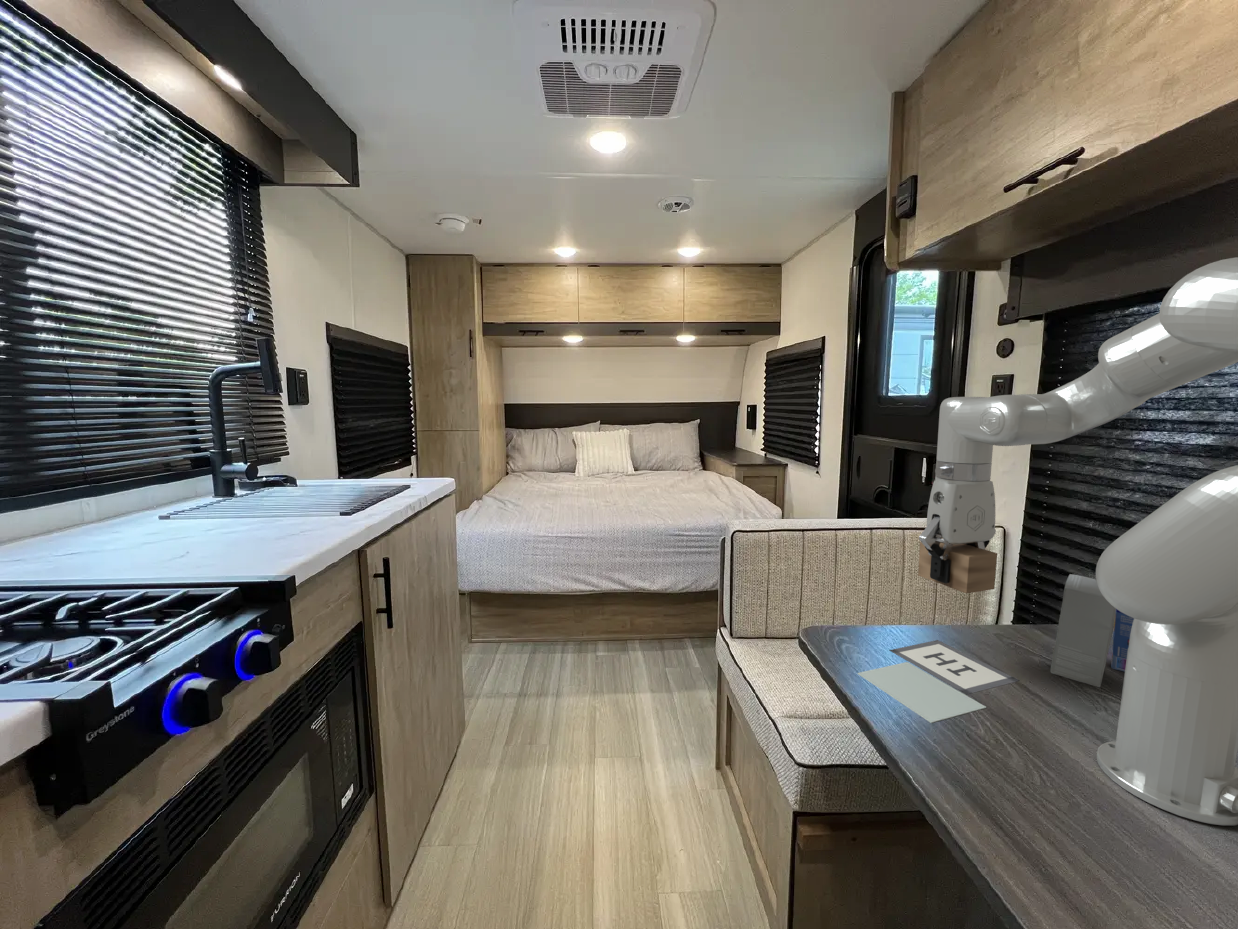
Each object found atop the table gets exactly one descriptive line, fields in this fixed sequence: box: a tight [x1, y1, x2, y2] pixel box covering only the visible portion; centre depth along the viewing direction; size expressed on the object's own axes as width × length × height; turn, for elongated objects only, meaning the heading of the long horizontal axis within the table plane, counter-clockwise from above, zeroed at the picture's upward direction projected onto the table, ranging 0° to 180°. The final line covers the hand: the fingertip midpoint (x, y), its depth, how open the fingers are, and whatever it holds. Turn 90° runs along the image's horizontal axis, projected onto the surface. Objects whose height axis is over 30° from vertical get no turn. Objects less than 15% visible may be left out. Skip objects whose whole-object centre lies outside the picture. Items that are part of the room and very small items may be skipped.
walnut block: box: [917, 541, 998, 594], centre depth 86 cm, size 9×6×6 cm, turn 17°
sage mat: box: [857, 661, 987, 724], centre depth 82 cm, size 14×11×1 cm
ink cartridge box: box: [1110, 609, 1134, 673], centre depth 88 cm, size 10×6×14 cm, turn 135°
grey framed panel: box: [888, 639, 1020, 696], centre depth 89 cm, size 15×12×1 cm
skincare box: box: [1050, 573, 1116, 688], centre depth 85 cm, size 8×7×16 cm
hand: (955, 577), depth 86 cm, fingers closed on walnut block, 6 cm apart
